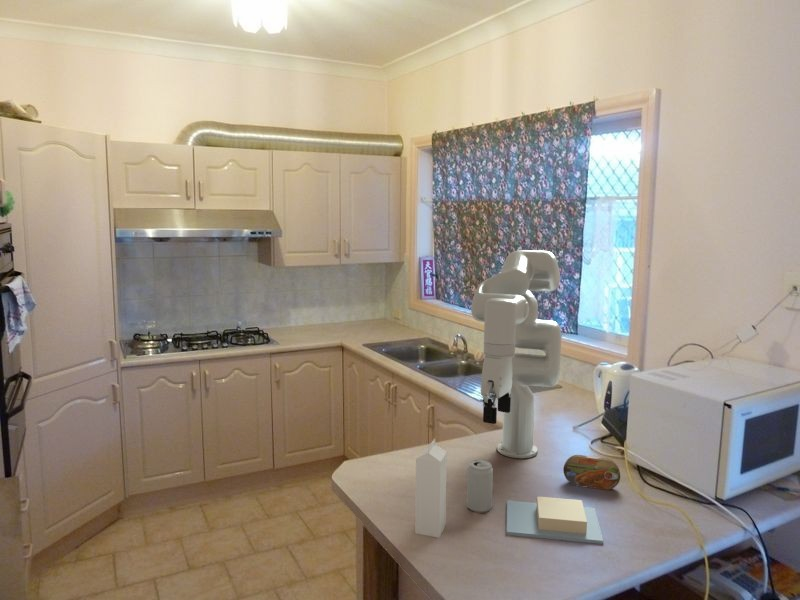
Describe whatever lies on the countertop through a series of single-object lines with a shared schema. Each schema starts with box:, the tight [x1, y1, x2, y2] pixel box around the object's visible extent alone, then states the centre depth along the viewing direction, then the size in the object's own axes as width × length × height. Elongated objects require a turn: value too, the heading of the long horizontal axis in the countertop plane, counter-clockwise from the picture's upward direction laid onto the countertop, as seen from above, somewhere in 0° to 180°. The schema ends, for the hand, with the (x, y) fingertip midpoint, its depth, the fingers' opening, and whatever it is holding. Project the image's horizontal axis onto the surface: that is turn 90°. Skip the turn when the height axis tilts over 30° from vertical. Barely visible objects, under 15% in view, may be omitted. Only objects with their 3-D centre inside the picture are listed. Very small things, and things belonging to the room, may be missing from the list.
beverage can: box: [466, 459, 494, 514], centre depth 159 cm, size 6×6×12 cm
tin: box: [562, 454, 621, 491], centre depth 172 cm, size 15×3×8 cm, turn 70°
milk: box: [414, 438, 448, 539], centre depth 147 cm, size 6×6×22 cm
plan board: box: [506, 496, 604, 545], centre depth 152 cm, size 16×22×4 cm
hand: (496, 417), depth 153 cm, fingers open, 9 cm apart
